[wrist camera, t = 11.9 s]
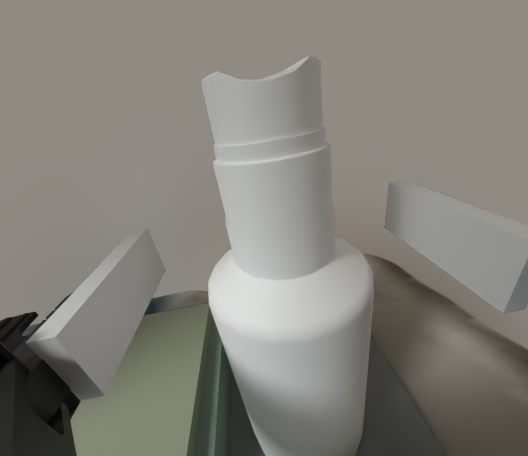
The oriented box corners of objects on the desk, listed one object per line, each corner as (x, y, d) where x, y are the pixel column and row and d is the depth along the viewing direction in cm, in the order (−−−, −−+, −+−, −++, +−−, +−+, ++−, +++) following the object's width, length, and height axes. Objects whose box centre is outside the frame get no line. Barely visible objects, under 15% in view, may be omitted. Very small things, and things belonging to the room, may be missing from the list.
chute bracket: (9, 711, 8) (-99, 722, 6) (147, 353, 21) (126, 318, 19) (519, 587, 9) (571, 561, 7) (352, 311, 21) (353, 274, 19)
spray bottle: (336, 348, 18) (332, 74, 10) (388, 470, 11) (494, -7, 3) (250, 364, 17) (173, 101, 9) (255, 497, 11) (50, 66, 3)
